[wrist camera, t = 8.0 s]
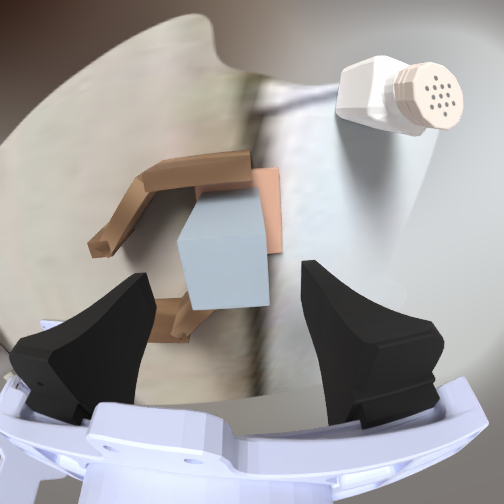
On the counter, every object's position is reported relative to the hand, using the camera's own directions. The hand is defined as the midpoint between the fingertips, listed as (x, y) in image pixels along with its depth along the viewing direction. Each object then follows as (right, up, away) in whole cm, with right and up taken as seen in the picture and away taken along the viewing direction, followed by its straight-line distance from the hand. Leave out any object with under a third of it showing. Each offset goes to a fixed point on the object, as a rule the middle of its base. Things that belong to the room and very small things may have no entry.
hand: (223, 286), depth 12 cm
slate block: (0, +4, +8) cm, 9 cm away
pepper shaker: (+9, +13, +4) cm, 16 cm away
